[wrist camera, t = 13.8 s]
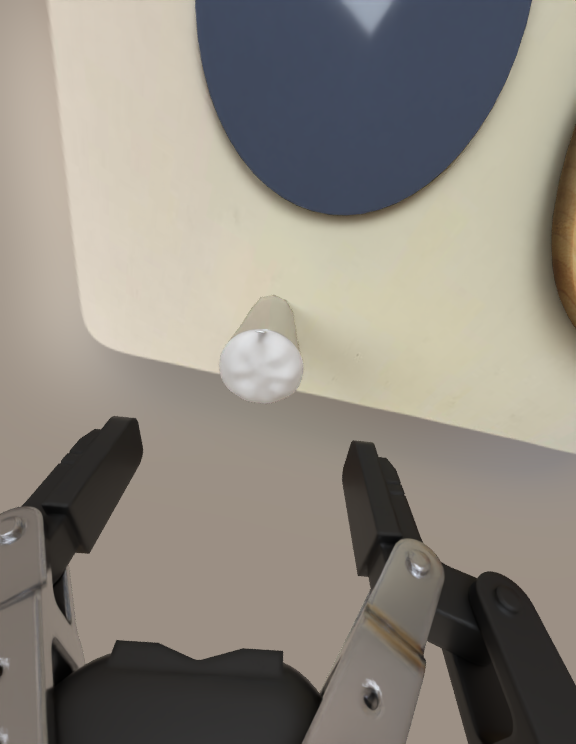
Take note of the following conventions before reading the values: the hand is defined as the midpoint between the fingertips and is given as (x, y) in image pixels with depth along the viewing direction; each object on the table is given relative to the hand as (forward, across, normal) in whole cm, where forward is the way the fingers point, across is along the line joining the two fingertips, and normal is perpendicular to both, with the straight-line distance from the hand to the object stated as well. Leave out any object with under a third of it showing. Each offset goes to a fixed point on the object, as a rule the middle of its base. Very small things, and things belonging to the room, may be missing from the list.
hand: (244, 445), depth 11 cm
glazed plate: (+14, -3, -15) cm, 21 cm away
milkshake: (+14, 0, 0) cm, 14 cm away
